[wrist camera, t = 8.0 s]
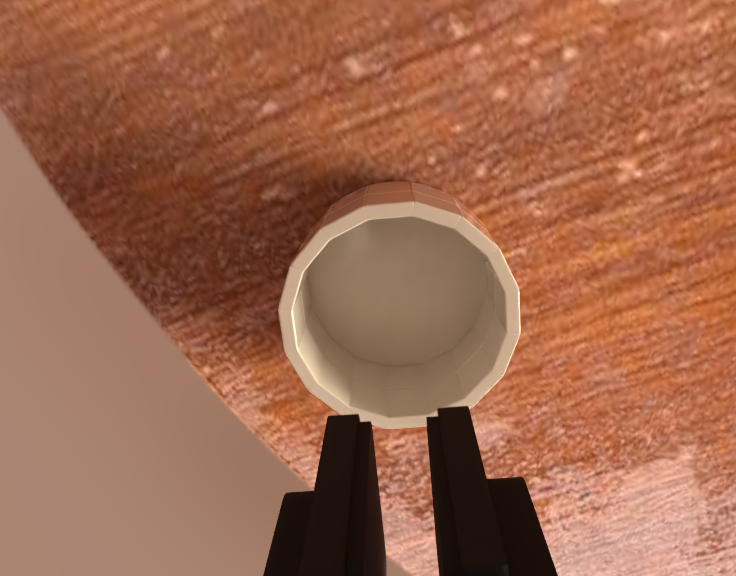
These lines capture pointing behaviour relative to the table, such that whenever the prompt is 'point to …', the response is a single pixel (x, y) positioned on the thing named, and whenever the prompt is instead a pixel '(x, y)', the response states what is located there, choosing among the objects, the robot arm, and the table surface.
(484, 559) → the robot arm
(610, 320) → the table surface
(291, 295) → the white bowl
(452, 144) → the table surface
